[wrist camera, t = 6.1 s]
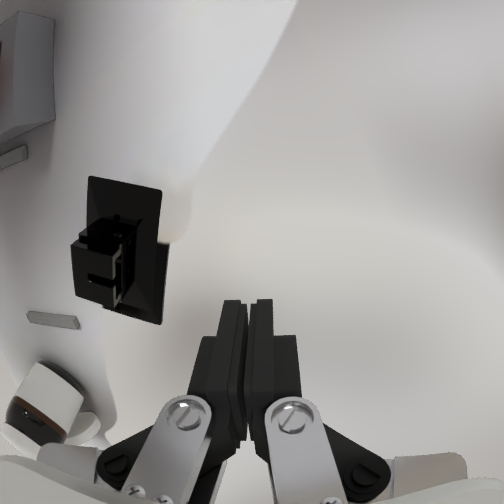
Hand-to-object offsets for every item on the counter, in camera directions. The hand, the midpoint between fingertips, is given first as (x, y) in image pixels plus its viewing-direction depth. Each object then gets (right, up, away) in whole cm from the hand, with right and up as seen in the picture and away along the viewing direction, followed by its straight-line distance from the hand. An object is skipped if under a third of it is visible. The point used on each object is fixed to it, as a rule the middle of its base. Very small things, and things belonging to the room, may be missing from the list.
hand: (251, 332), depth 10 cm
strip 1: (-20, +10, +5) cm, 23 cm away
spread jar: (-23, -15, +18) cm, 33 cm away
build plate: (-9, +3, +9) cm, 13 cm away
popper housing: (-17, +15, +2) cm, 23 cm away
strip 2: (-19, -3, +12) cm, 22 cm away
